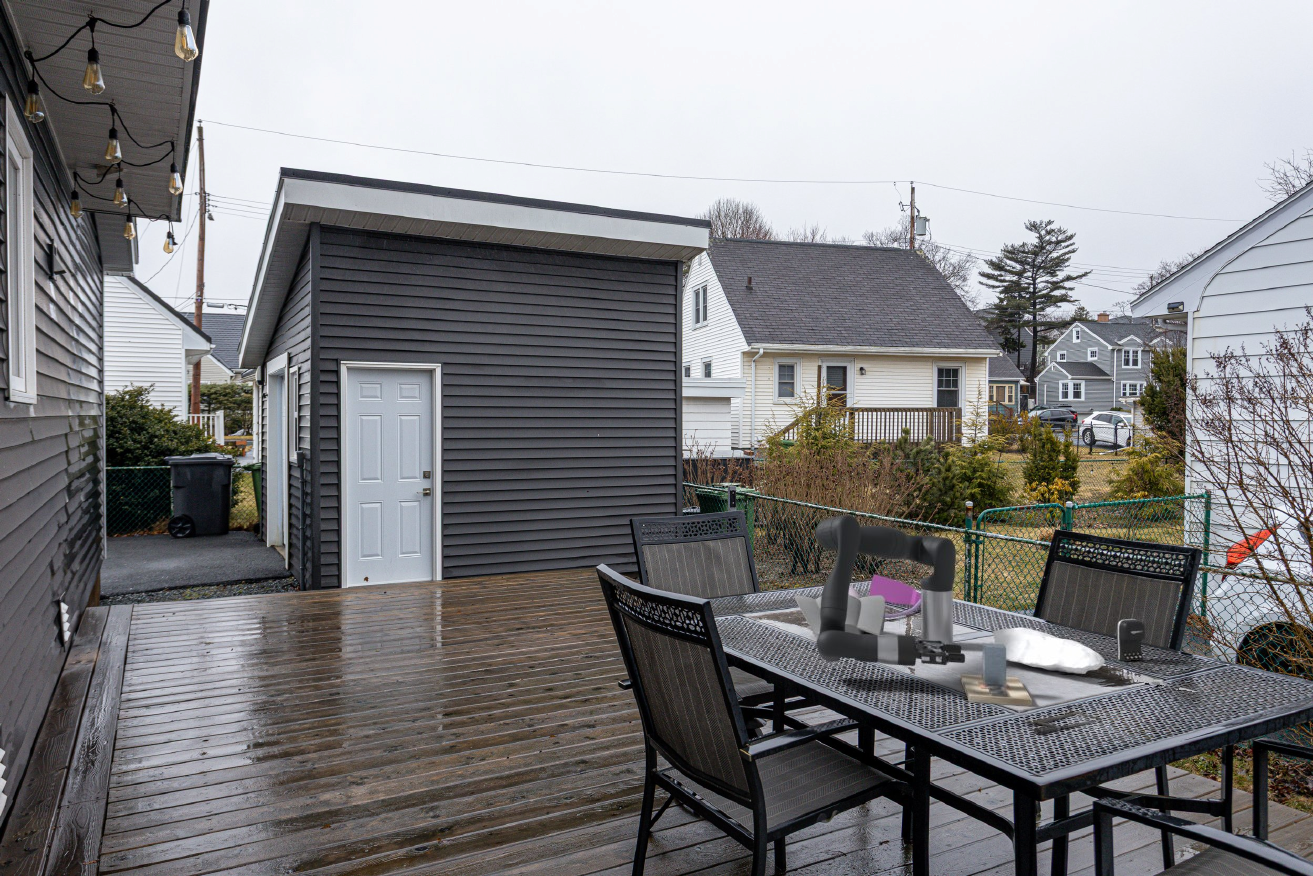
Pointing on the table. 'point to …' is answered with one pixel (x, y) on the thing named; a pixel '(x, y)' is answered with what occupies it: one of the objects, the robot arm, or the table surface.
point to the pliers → (1154, 682)
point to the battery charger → (1130, 639)
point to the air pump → (892, 593)
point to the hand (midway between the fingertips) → (962, 653)
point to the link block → (994, 665)
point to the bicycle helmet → (849, 614)
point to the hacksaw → (1055, 728)
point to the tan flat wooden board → (995, 691)
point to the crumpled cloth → (1047, 651)
